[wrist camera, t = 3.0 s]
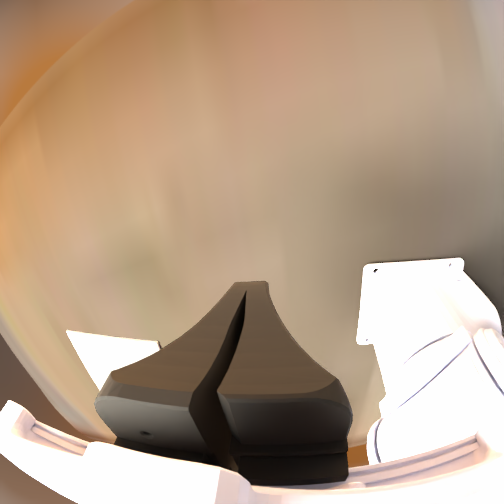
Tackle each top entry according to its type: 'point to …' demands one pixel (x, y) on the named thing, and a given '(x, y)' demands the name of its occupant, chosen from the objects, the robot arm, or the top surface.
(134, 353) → the mat
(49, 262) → the top surface
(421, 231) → the top surface
